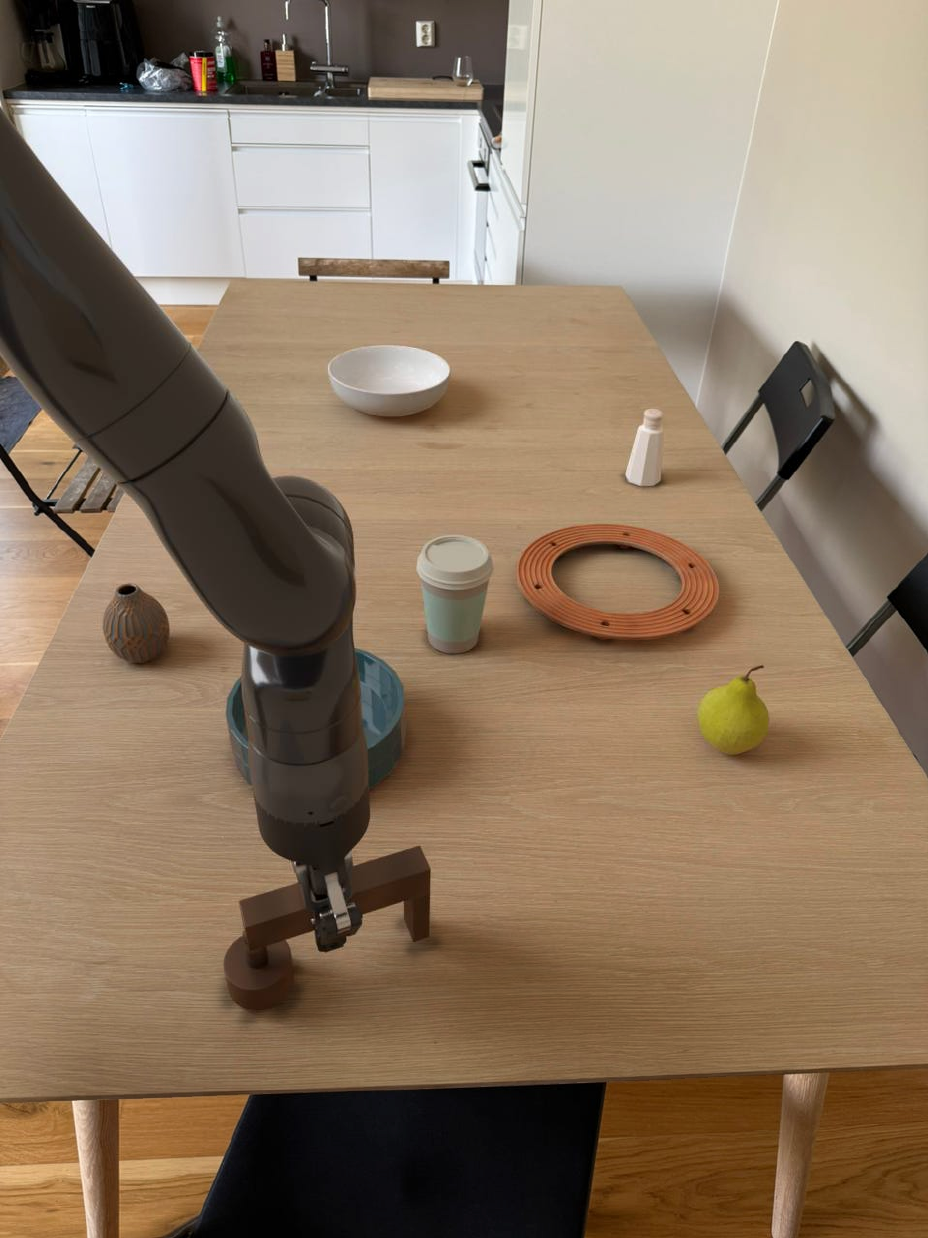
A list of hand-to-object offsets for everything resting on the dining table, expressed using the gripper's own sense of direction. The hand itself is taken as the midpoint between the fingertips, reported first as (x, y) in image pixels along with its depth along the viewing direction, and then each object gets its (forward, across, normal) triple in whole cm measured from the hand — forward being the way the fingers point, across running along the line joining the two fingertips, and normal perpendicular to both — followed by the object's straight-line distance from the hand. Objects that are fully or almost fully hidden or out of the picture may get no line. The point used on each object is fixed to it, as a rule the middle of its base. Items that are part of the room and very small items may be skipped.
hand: (326, 928), depth 68 cm
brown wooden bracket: (+4, 0, 0) cm, 4 cm away
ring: (+5, -37, +48) cm, 61 cm away
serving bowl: (+5, -99, +39) cm, 106 cm away
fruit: (+5, -9, +45) cm, 46 cm away
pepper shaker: (+5, -61, +67) cm, 91 cm away
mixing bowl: (+5, -24, +6) cm, 25 cm away
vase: (+5, -45, -9) cm, 46 cm away
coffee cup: (+5, -35, +25) cm, 43 cm away
